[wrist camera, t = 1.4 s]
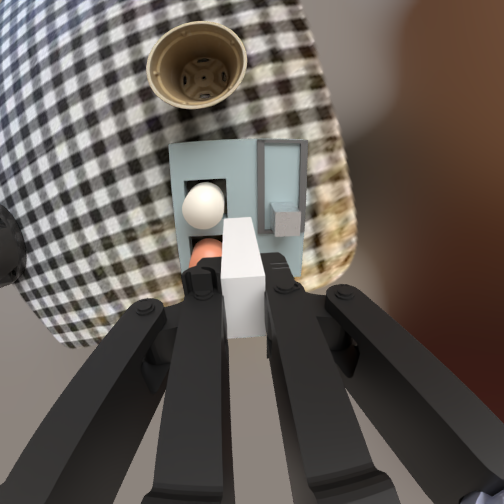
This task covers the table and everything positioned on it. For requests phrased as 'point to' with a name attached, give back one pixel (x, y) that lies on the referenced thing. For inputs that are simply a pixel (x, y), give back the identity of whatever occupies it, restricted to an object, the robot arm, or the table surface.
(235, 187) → the panel
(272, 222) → the grey stone cube
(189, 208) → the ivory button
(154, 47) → the flower pot
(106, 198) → the table surface
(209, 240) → the salmon orange egg
